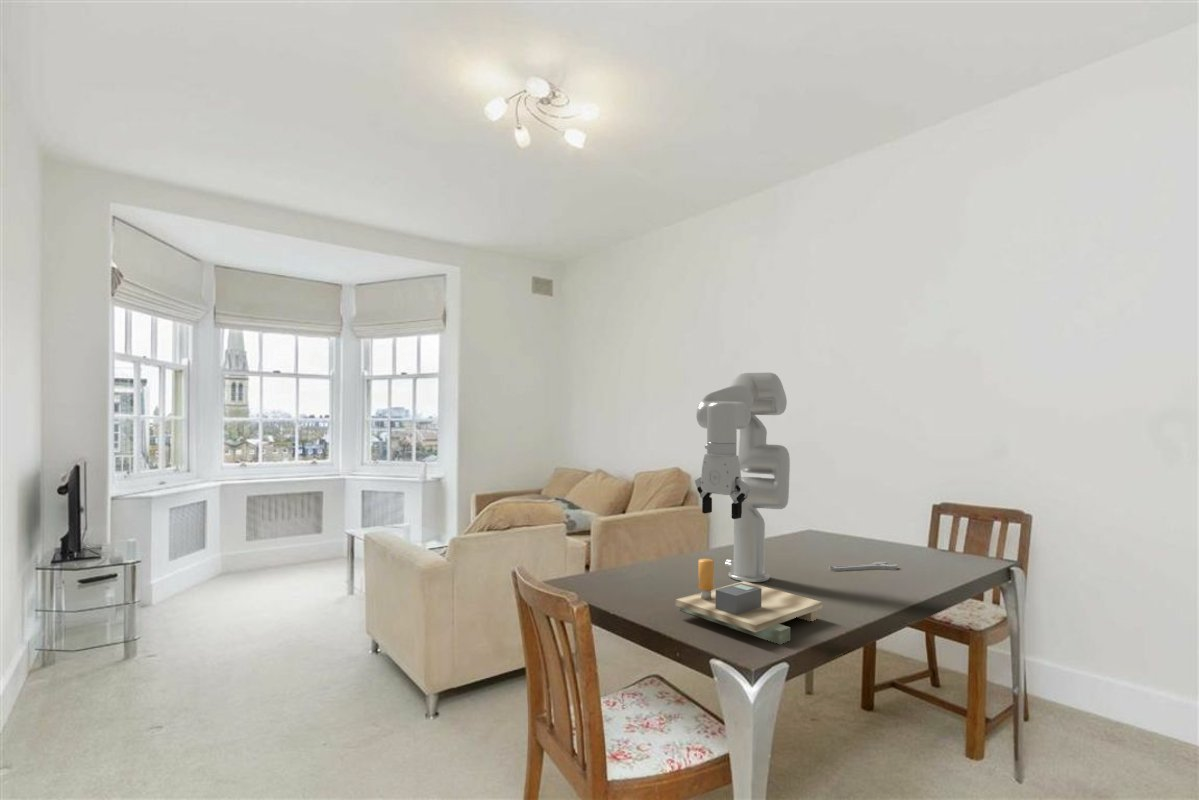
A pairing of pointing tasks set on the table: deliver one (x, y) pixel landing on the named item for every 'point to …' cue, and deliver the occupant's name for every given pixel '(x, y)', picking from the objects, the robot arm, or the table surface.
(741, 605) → the block
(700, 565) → the orange and grey cylinder
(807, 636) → the table surface
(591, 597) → the table surface
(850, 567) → the adjustable wrench
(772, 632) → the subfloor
